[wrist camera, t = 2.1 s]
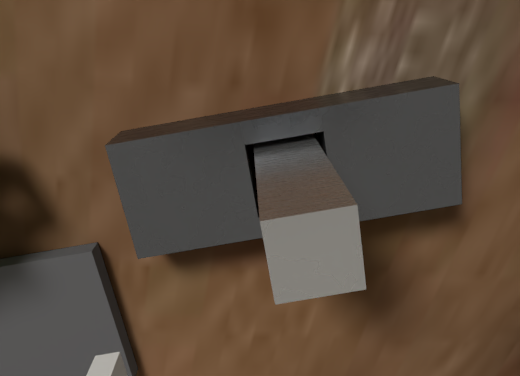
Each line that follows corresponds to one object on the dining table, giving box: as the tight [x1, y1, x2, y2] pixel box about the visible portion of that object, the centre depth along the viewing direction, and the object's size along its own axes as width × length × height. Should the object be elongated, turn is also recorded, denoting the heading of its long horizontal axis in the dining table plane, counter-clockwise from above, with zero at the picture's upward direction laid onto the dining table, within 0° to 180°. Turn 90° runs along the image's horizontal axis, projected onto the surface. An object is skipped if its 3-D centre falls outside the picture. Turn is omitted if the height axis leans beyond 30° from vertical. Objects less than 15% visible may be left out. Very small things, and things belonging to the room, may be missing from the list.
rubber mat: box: [0, 242, 138, 376], centre depth 37 cm, size 12×12×2 cm
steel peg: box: [253, 134, 366, 304], centre depth 27 cm, size 4×4×15 cm
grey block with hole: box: [105, 76, 462, 259], centre depth 32 cm, size 8×22×4 cm, turn 100°
